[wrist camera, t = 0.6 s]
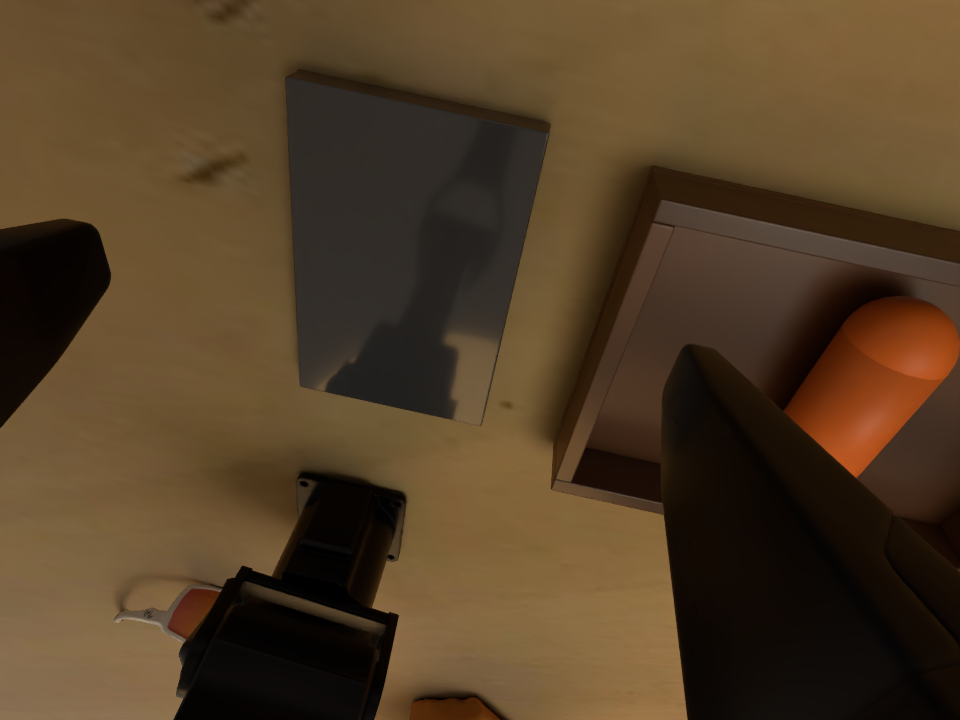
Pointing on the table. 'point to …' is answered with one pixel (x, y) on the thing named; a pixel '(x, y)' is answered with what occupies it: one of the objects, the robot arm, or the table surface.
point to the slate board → (405, 240)
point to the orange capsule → (875, 377)
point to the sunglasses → (178, 612)
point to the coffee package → (450, 710)
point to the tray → (756, 334)
